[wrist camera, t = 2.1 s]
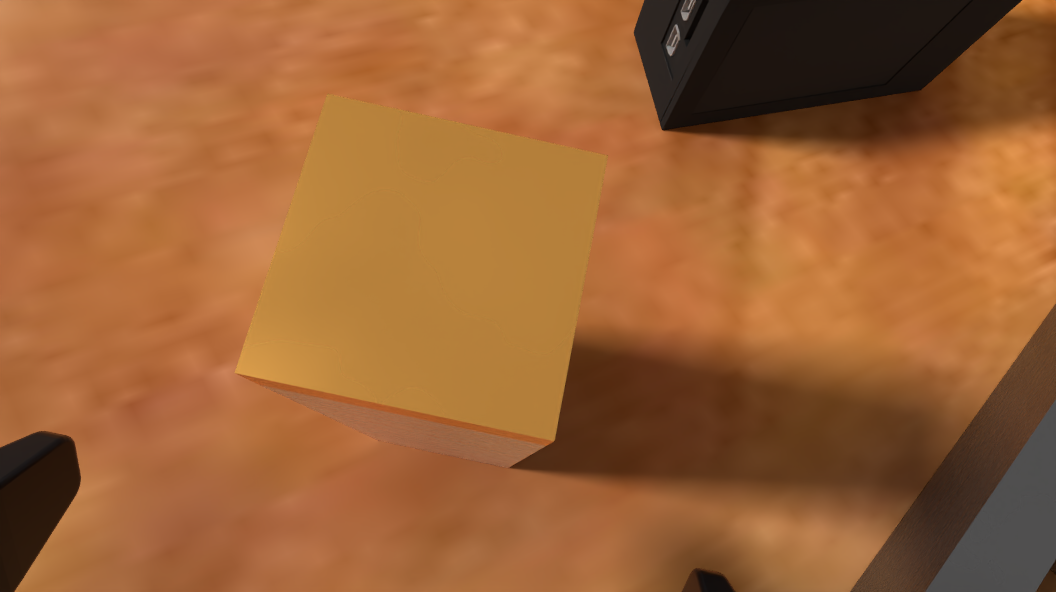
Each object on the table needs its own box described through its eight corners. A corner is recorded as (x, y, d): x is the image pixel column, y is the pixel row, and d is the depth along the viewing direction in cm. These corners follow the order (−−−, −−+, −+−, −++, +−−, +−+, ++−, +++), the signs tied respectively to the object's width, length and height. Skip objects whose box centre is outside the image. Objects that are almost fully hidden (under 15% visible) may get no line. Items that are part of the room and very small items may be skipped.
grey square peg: (507, 468, 20) (554, 441, 8) (377, 440, 20) (234, 372, 8) (533, 341, 21) (607, 156, 9) (411, 314, 21) (328, 93, 9)
